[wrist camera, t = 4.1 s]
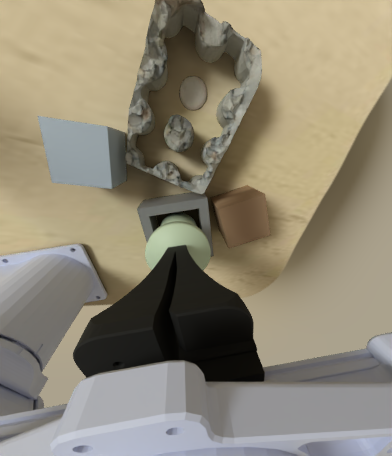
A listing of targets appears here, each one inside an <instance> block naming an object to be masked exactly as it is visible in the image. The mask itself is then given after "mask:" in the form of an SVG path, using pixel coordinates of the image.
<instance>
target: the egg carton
mask: <svg viewBox="0 0 392 456" xmlns="http://www.w3.org/2000/svg"><path fill="white" fill-rule="evenodd" d="M182 26H186V27H187V28H188V29H190V30H192V31H193V32H194V33H195V48H196V51H197V53H198V55H199V57H200V58H201V59H202V60H204V61H206V62H215V61H217V60H218V59H219V58H220V57H221V56H222V54H223V53H224V52H226V53H228V54H229V55H230V56H231V57H233V58H234V60H235V63H234V73H235V76H236V78H237V80H238V81H239V82H240V83H241V87H240V88H235V89H233V90H230V91H229V93H228V94H227V95H226V96H225V97H224V98H223V99H222V101H221V102H220V103H219V105H218V107H217V113H216V116H217V120H218V123H219V124H220V125H221V126H222V128H223V131H222V133H221V136H220V137H218V138H216V137H214V138H212V139H211V140H209V141H207V142H205V144H204V145H203V147H202V149H201V158H202V160H203V162H204V163H205V164H206V165H207V166H208V167H207V170H206V172H205V173H204V174H203V176H202V175H197V176H194V177H192V178H191V179H190V180H189V182H185V181H183V180H181V177H180V173H179V172H178V168H177V167H176V165H175V164H173V163H172V162H170V161H163V162H161V163H159V164H157V165H156V166H155V167H154V168H150V167H148V166H146V165H145V162H144V156H143V154H142V152H141V151H140V150H139V149H138V148H137V147H136V141H137V137H138V135H146V134H149V133H151V132H152V130H153V128H154V126H155V116H154V113H153V111H152V109H151V108H150V106H149V105H148V95H149V90H151V91H157V90H160V89H161V88H162V87H163V86H164V85H165V84H166V81H167V77H168V69H167V58H168V56H167V49H166V46H165V43H164V39H165V38H172V37H174V36H176V35H177V34H178V33H179V31H180V30H181V28H182ZM261 74H262V63H261V50H260V49H258V48H257V47H256V46H255V45H254V44H253V43H252V42H251V41H250V39H249V38H244V37H243V36H241V35H240V34H238V33H237V32H236V31H235V30H234V29H233V28H232V27H231V25H230V24H229V23H228V22H226V21H225V22H223V23H222V24H221V23H219V22H218V21H217V20H216V19H214V18H213V17H211V16H210V15H208V14H207V13H206V12H205V8H204V6H203V3H202V1H201V0H155V5H154V9H153V12H152V15H151V19H150V23H149V28H148V33H147V37H146V47H145V51H144V55H143V58H142V62H141V65H140V68H139V71H138V75H137V82H136V86H135V89H134V93H133V97H132V101H131V104H130V108H129V119H128V137H127V152H126V156H125V162H126V163H127V164H129V165H131V166H134V167H136V168H138V169H141V170H143V171H145V172H147V173H150V174H152V175H154V176H156V177H159V178H161V179H163V180H166V181H168V182H170V183H173V184H175V185H177V186H179V187H182V188H185V189H187V190H189V191H192V192H195V193H199V194H203V193H204V192H205V190H206V188H207V187H208V185H209V183H210V181H211V179H212V177H213V175H214V172H215V170H216V168H217V166H218V164H219V163H220V162H221V158H222V157H223V155H224V153H225V152H226V150H227V149H228V147H229V145H230V142H231V140H232V138H233V136H234V134H235V132H236V130H237V128H238V126H239V124H240V122H241V119H242V117H243V116H244V114H245V112H246V110H247V108H248V106H249V104H250V102H251V100H252V98H253V96H254V94H255V92H256V90H257V88H258V85H259V82H260V80H261ZM179 91H180V93H179V95H180V100H181V102H182V104H183V105H184V107H186V108H187V109H189V110H197V109H199V108H201V107H202V105H203V104H204V103H205V101H206V97H207V89H206V86H205V84H204V82H203V80H202V79H200V78H199V77H196V76H190V77H187V78H186V79H185V80H183V82H182V84H181V86H180V90H179ZM164 138H165V141H166V143H167V145H168V146H169V147H170V148H171V149H172V150H174V151H177V152H182V151H186V150H187V149H188V148H189V147H191V146H192V143H193V140H194V134H193V127H192V125H191V123H190V122H189V121H188V120H187V119H186V118H184V117H182V116H180V115H172V116H171V117H170V119H169V122H168V124H167V125H166V127H165V130H164ZM170 148H169V149H170Z"/></svg>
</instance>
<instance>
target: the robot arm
mask: <svg viewBox="0 0 392 456" xmlns="http://www.w3.org/2000/svg"><path fill="white" fill-rule="evenodd" d="M72 248H74V249H75V250H73V249H72ZM106 297H107V293H106V291H105V289H104V287H103V285H102V283H101V280H100V278H99V276H98V274H97V272H96V270H95V268H94V266H93V264H92V262H91V260H90V258H89V256H88V254H87V252H86V250H85V248H84V246H83V245H82V244H72V245H66V246H59V247H53V248H47V249H41V250H35V251H28V252H22V253H16V254H10V255H3V256H0V456H392V332H391V333H385V334H380V335H377V336H374V337H372V338H371V339H370V340H369V341H368V344H367V348H366V349H361V350H355V351H350V352H345V353H339V354H334V355H328V356H323V357H317V358H312V359H307V360H301V361H296V362H291V363H285V364H280V365H275V366H269V367H262V364H261V362H260V359H259V357H258V354H257V348H256V344H255V342H254V339H253V319H252V316H251V314H250V312H249V310H248V309H247V307H246V305H245V304H244V302H243V301H242V299H241V298H240V297H239V295H238V294H237V293H235V292H233V291H231V290H229V289H227V288H225V287H223V286H222V285H220V284H218V283H217V282H216V281H214V280H213V279H212V278H210V277H209V276H208V275H207V274H206V273H205V272H204V271H203V270H202V269H201V268H200V267H199V266H198V265H197V264H196V262H195V261H194V260H193V258H192V257H191V255H190V254H189V252H188V249H187V246H186V245H180V246H174V247H168V248H167V250H166V251H165V253H164V254H163V256H162V257H161V259H160V260H159V262H158V263H157V264H156V266H155V267H154V268H153V270H152V271H151V272H150V273H149V274H148V276H147V277H146V278H145V279H144V280H143V281H142V282H141V283H140V284H139V285H137V286H136V287H135V288H134V289H133V290H132V291H131V292H129V293H128V294H127V295H126V296H124V297H123V298H122V299H120V300H119V301H118V302H116V303H115V304H113V305H112V306H110V307H109V308H107V309H106V310H104V311H102V312H101V313H99V314H98V315H96V316H94V317H93V318H91V320H90V322H89V323H88V325H87V327H86V329H85V330H84V333H83V334H82V336H81V338H80V340H79V342H78V344H77V346H76V348H75V350H74V352H73V359H74V361H75V363H76V365H77V366H78V367H79V368H80V370H81V371H82V372H83V374H84V375H85V376H86V377H87V378H85V379H83V380H82V381H81V382H80V383H79V384H78V385H77V386H76V388H75V389H74V391H73V393H72V396H71V398H70V400H69V402H68V404H63V405H58V406H52V407H47V408H44V403H43V400H42V398H41V397H40V396H39V394H40V392H41V390H42V389H43V387H44V385H45V383H46V381H47V380H48V378H47V377H46V376H44V375H43V374H42V371H43V369H44V368H45V366H46V365H47V363H48V361H49V360H50V358H51V356H52V355H53V353H54V352H55V350H56V349H57V347H58V345H59V344H60V342H61V341H62V339H63V337H64V336H65V334H66V332H67V331H68V329H69V328H70V326H71V324H72V322H73V321H74V320H75V318H76V316H77V314H78V313H79V311H80V310H81V308H82V307H83V305H84V303H86V302H92V301H98V300H104V299H106Z"/></svg>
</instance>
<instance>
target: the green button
mask: <svg viewBox="0 0 392 456" xmlns="http://www.w3.org/2000/svg"><path fill="white" fill-rule="evenodd" d="M180 245H186V246H187V249H188V252H189V254H190V255H191V257H192V258H193V260H194V261H195V262H196V264H197V265H198V266H199V267H200V268H201V269H202V270H204V269H205V268H206V266H207V265H208V263H209V260H210V256H211V250H210V245H209V242H208V239H207V237H206V235H205V234H204V232H203V231H202V230H201V229H200V228H198V227H197V225H196V223H195V221H194V220H193V218H192V217H190V216H189V215H187V214H185V213H172V214H170V215H168V216H166V217H165V218H164V219H163V221H162V222H161V225H160V227H158V228H157V229H156V230H155V231H154V232H153V233H152V234H151V236H150V238H149V240H148V243H147V246H146V250H145V258H146V262H147V264H148V266H149V267H150V269H151V270H153V268H154V267H155V266H156V264H157V263H158V262H159V260H160V259H161V257H162V256H163V254H164V253H165V251H166V250H167V248H168V247H174V246H180Z"/></svg>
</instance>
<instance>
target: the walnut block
mask: <svg viewBox="0 0 392 456" xmlns="http://www.w3.org/2000/svg"><path fill="white" fill-rule="evenodd" d="M210 199H211V203H212V206H213V210H214V213H215V217H216V220H217V224H218V227H219V231H220V232H221V234H222V236H223V238H224V240H225V242H226V244H227V246H228V248H232V247H235V246H238V245H241V244H244V243H247V242H251V241H254V240H257V239H260V238H263V237H266V236H269V235H270V228H269V220H268V213H267V206H266V198H265V194H264V193H262V192H260V191H258V190H256V189H254V188H252V187H250V186H248V185H247V186H244V187H241V188H238V189H235V190H232V191H229V192H226V193H223V194H220V195H217V196H214V197H211V198H210Z"/></svg>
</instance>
